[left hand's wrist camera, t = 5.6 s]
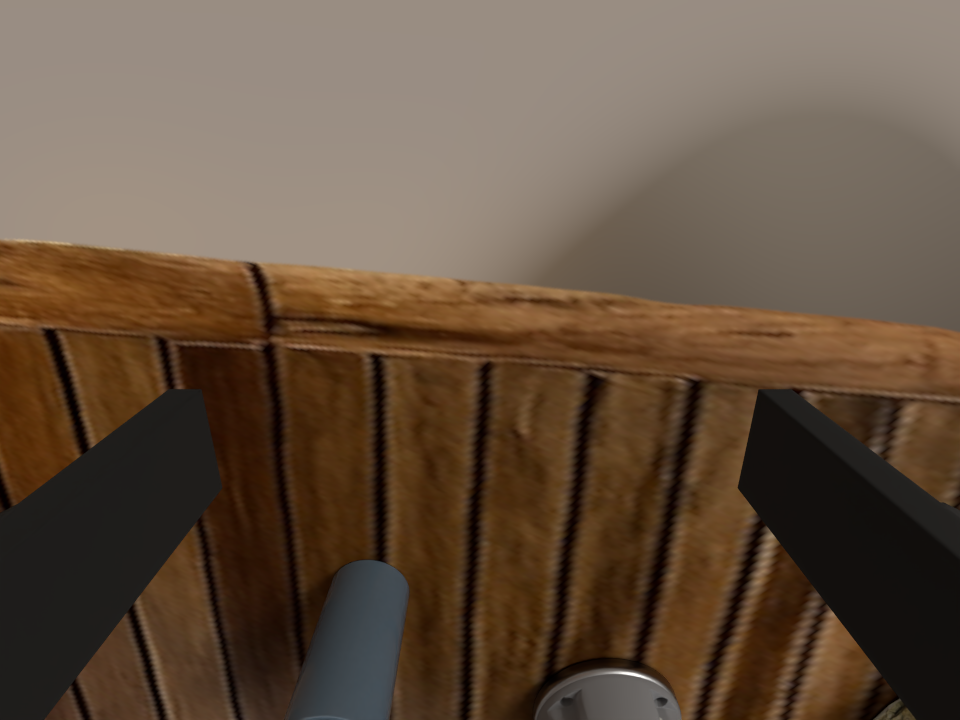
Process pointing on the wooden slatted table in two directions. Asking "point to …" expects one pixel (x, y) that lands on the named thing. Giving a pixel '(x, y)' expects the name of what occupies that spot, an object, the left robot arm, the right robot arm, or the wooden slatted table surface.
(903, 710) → the fossil
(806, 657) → the wooden slatted table surface
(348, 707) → the bottle
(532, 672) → the wooden slatted table surface
